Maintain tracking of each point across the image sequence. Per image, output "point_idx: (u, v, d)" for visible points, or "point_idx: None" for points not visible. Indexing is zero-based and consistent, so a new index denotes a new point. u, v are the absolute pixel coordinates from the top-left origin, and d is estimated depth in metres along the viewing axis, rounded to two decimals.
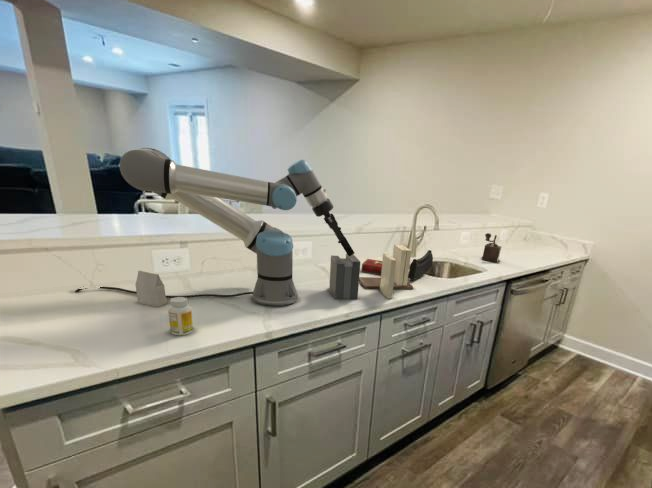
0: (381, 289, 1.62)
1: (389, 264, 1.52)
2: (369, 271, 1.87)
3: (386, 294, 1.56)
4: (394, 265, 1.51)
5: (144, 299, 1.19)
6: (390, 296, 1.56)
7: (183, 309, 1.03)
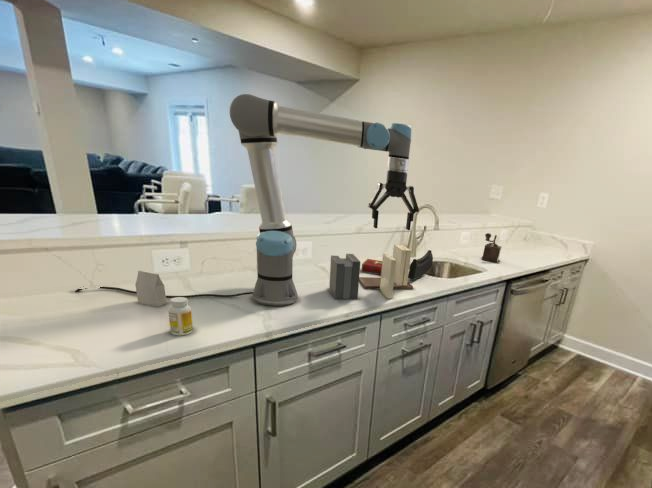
0: (381, 289, 1.62)
1: (389, 264, 1.52)
2: (369, 271, 1.87)
3: (386, 294, 1.56)
4: (394, 265, 1.51)
5: (144, 299, 1.19)
6: (390, 296, 1.56)
7: (183, 309, 1.03)
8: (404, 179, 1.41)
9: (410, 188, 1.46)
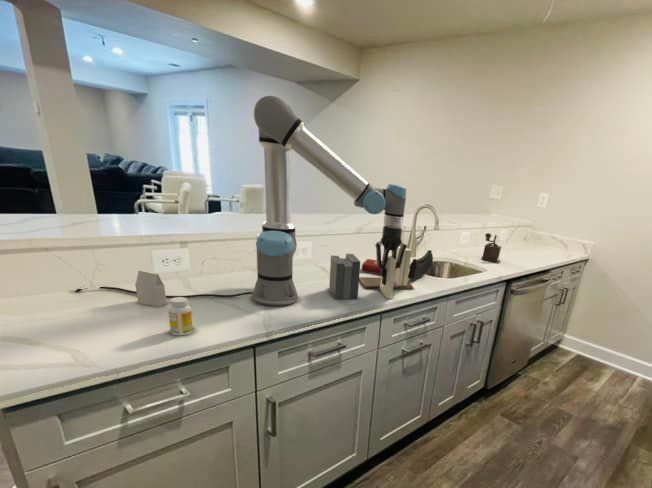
0: (381, 289, 1.62)
1: (389, 264, 1.52)
2: (369, 271, 1.87)
3: (386, 294, 1.56)
4: (394, 265, 1.51)
5: (144, 299, 1.19)
6: (390, 296, 1.56)
7: (183, 309, 1.03)
8: (399, 235, 1.49)
9: (403, 245, 1.54)
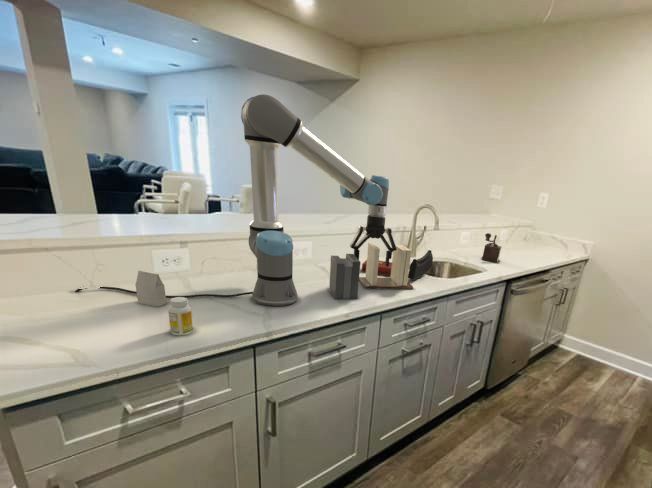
0: (366, 277, 1.72)
1: (373, 253, 1.61)
2: None
3: (371, 281, 1.66)
4: (378, 254, 1.60)
5: (144, 299, 1.19)
6: (374, 283, 1.65)
7: (183, 309, 1.03)
8: (382, 223, 1.58)
9: (388, 230, 1.62)
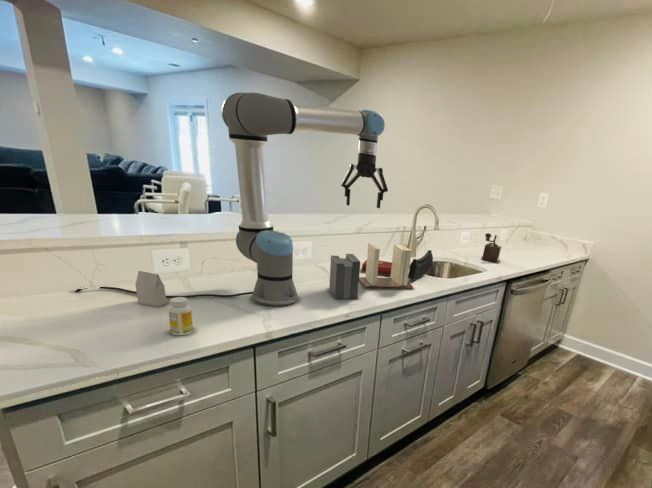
0: (366, 277, 1.72)
1: (373, 253, 1.61)
2: None
3: (371, 281, 1.66)
4: (378, 254, 1.60)
5: (144, 299, 1.19)
6: (374, 283, 1.65)
7: (183, 309, 1.03)
8: (373, 161, 1.57)
9: (379, 169, 1.61)
